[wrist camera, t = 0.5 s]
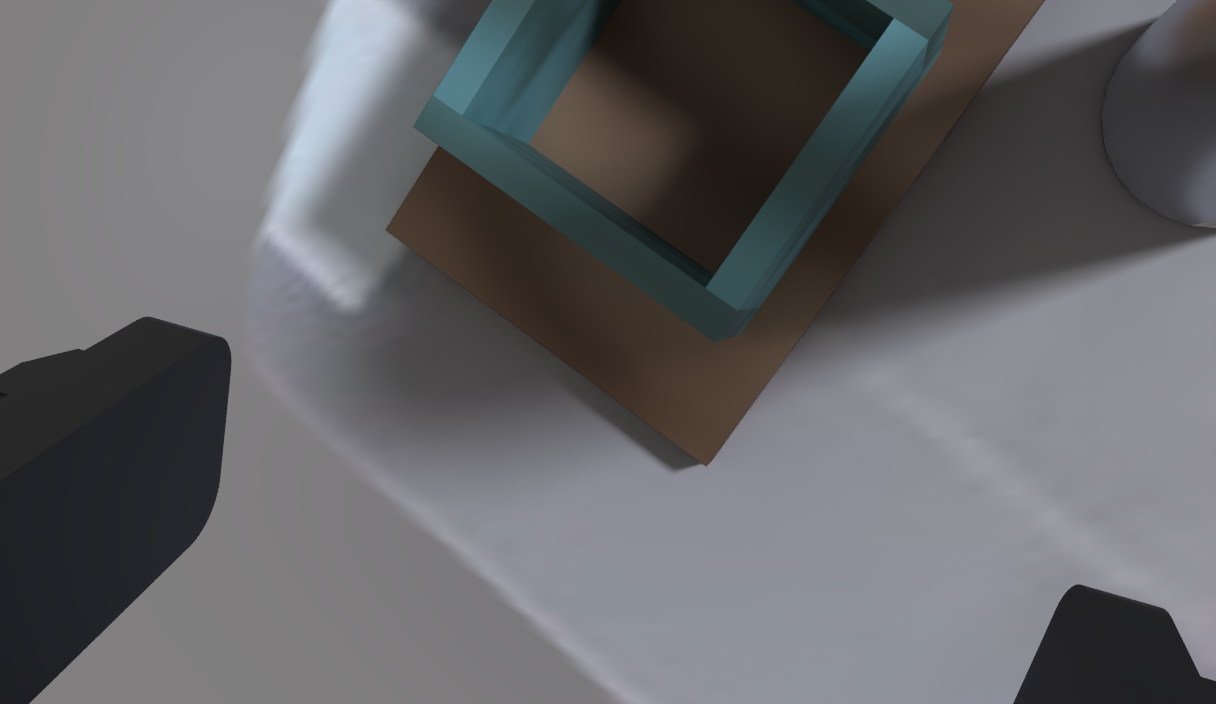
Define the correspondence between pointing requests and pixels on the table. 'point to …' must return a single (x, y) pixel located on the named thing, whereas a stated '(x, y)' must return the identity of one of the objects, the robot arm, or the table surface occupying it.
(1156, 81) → the silver metal cylinder
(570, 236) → the cup stand
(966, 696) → the table surface
